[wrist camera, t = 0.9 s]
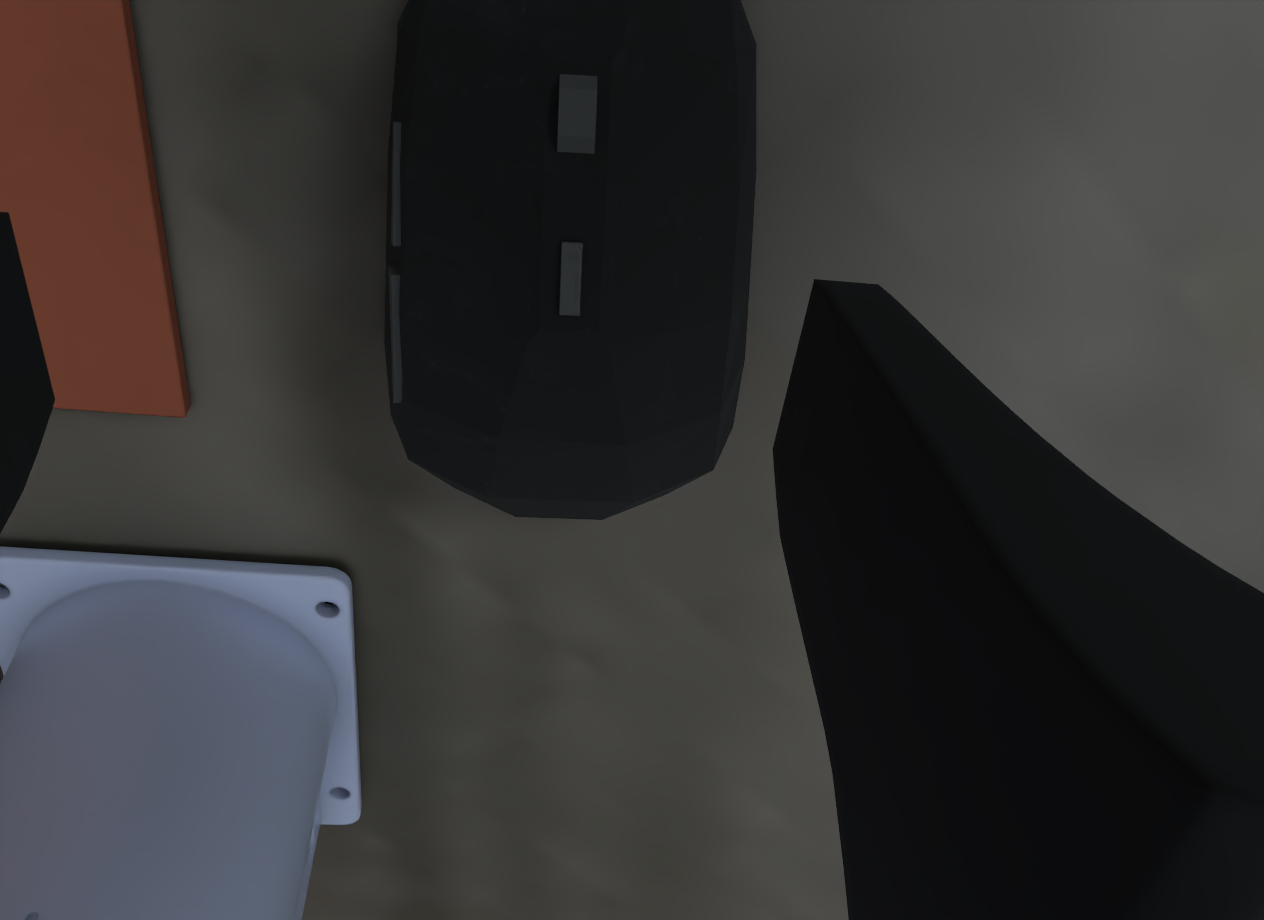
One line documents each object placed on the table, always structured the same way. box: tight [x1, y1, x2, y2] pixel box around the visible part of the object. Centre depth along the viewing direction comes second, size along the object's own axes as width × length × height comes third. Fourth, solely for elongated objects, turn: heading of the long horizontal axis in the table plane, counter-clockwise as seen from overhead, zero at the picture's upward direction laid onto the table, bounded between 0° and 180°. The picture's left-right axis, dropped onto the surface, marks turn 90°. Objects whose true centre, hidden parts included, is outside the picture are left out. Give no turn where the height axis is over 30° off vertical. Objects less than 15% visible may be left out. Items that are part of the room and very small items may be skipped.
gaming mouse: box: [385, 0, 756, 520], centre depth 18 cm, size 6×15×4 cm, turn 176°
